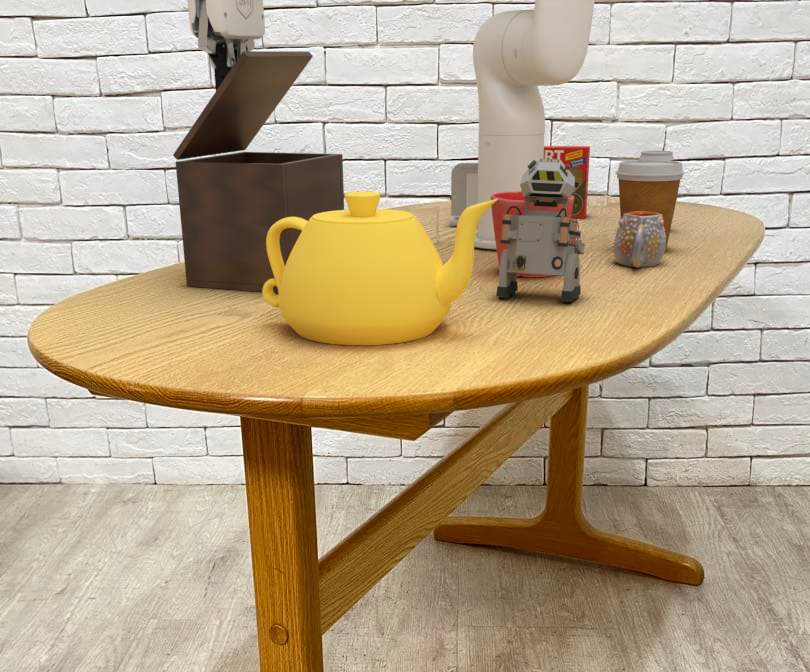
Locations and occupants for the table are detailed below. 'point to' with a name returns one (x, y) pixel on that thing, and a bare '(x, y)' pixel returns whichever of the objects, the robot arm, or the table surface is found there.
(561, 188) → the figurine
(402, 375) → the table surface
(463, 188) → the handheld gaming console
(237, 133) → the lid
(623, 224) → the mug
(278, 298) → the teapot
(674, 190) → the disposable coffee cup
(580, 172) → the toy box
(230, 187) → the case
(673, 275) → the table surface
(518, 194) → the flower pot
